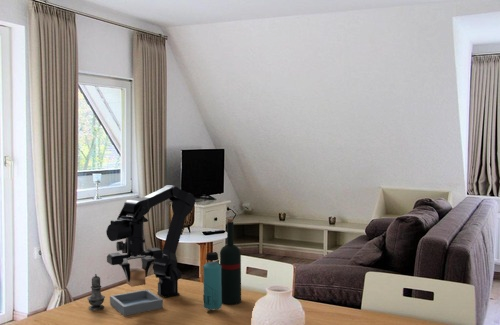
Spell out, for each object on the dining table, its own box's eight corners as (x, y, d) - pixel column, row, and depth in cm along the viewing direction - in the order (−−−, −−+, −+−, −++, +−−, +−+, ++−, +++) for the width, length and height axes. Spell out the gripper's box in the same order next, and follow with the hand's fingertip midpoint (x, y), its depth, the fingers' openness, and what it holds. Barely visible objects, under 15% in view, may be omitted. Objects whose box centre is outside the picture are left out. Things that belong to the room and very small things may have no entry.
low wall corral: (147, 297, 194) (147, 289, 194) (162, 308, 183) (162, 299, 183) (110, 304, 187) (109, 295, 187) (123, 315, 175) (123, 306, 175)
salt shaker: (100, 311, 180) (99, 276, 179) (84, 310, 181) (83, 275, 180) (108, 305, 185) (107, 271, 185) (92, 304, 187) (92, 271, 186)
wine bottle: (244, 296, 195) (244, 216, 193) (239, 305, 185) (238, 220, 183) (223, 295, 197) (223, 215, 195) (217, 304, 187) (216, 220, 185)
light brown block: (140, 280, 188) (139, 267, 188) (145, 284, 184) (145, 270, 183) (126, 283, 185) (126, 269, 185) (131, 286, 181) (131, 272, 181)
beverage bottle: (225, 308, 182) (224, 251, 181) (217, 315, 176) (217, 255, 174) (207, 306, 184) (207, 250, 183) (199, 313, 178) (199, 254, 177)
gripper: (151, 229, 195) (151, 271, 196) (101, 235, 185) (102, 279, 186) (163, 234, 186) (164, 278, 187) (111, 240, 176) (112, 287, 177)
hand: (135, 280), depth 184 cm, fingers closed on light brown block, 5 cm apart
